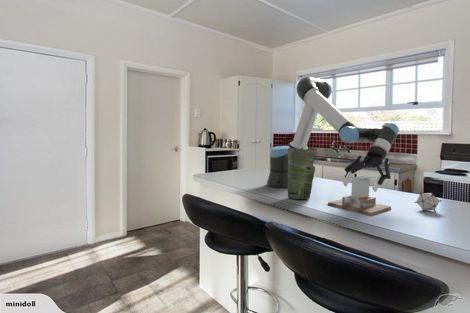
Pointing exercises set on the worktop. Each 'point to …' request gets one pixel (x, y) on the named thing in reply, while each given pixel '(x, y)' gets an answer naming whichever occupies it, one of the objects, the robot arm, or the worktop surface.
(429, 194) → the game die
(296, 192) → the pouch
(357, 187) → the skincare box
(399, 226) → the worktop surface
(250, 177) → the worktop surface
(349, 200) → the walnut mount
